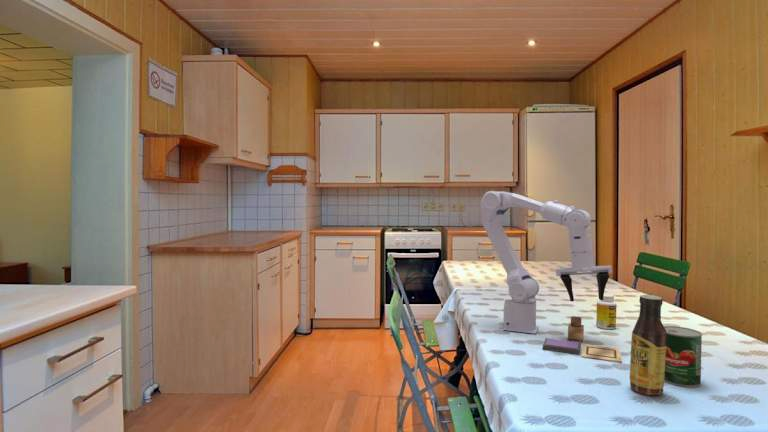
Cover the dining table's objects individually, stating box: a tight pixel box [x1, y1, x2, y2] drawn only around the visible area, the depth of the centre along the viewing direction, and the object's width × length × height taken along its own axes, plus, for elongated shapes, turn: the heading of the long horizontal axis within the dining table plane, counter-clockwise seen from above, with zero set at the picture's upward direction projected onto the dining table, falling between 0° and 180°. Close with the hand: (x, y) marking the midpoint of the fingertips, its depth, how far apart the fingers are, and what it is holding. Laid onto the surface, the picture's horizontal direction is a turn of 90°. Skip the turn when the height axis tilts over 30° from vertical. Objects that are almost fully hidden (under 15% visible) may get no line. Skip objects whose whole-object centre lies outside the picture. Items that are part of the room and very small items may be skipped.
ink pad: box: [542, 337, 582, 356], centre depth 122 cm, size 9×7×1 cm
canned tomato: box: [663, 325, 703, 388], centre depth 100 cm, size 8×8×11 cm
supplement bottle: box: [596, 293, 617, 330], centre depth 142 cm, size 6×6×10 cm
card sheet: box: [581, 343, 623, 364], centre depth 118 cm, size 9×11×1 cm
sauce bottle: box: [629, 294, 666, 396], centre depth 94 cm, size 6×6×20 cm
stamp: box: [567, 315, 585, 344], centre depth 129 cm, size 4×4×6 cm
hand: (586, 300), depth 128 cm, fingers open, 7 cm apart
